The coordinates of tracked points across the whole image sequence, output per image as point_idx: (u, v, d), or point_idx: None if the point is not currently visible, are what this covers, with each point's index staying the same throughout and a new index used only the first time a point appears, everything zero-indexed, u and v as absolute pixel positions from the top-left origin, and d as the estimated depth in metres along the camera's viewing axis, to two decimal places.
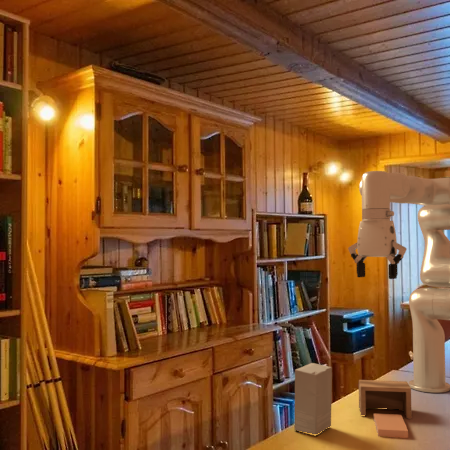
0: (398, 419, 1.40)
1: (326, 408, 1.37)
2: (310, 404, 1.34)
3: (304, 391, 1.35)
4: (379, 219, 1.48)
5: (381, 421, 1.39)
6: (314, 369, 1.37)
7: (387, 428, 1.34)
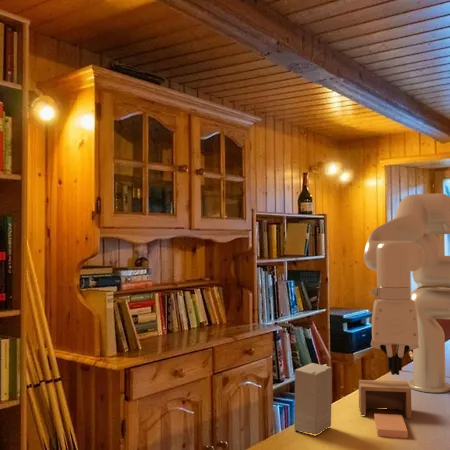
0: (399, 419, 1.40)
1: (326, 408, 1.37)
2: (310, 404, 1.34)
3: (304, 391, 1.35)
4: None
5: (381, 421, 1.39)
6: (314, 369, 1.37)
7: (386, 428, 1.34)
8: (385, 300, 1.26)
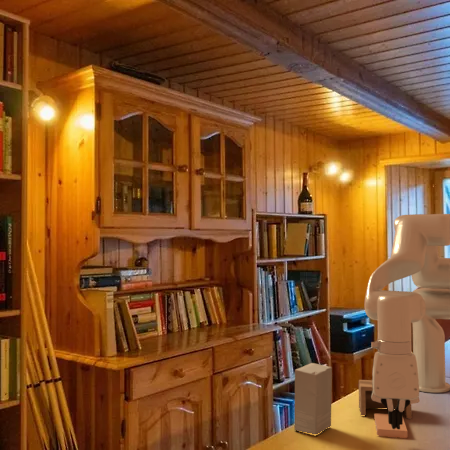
0: None
1: (326, 408, 1.37)
2: (310, 404, 1.34)
3: (304, 391, 1.35)
4: None
5: (381, 421, 1.39)
6: (314, 369, 1.37)
7: (386, 428, 1.34)
8: (386, 354, 1.25)
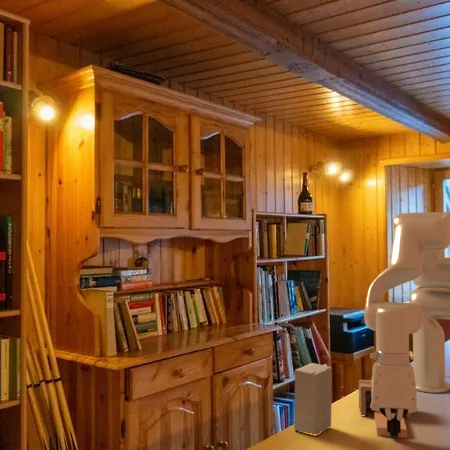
0: None
1: (326, 408, 1.37)
2: (310, 404, 1.34)
3: (304, 391, 1.35)
4: None
5: (381, 419, 1.39)
6: (314, 369, 1.37)
7: (386, 426, 1.34)
8: (384, 365, 1.29)
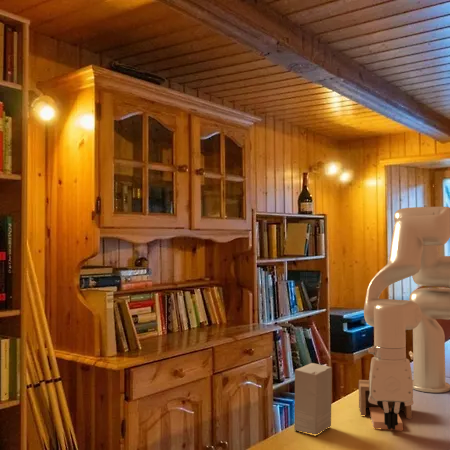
0: None
1: (326, 408, 1.37)
2: (310, 404, 1.34)
3: (304, 391, 1.35)
4: None
5: (377, 414, 1.44)
6: (314, 369, 1.37)
7: (382, 420, 1.39)
8: (382, 360, 1.34)
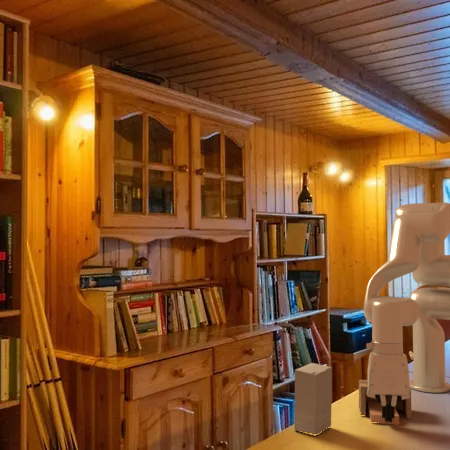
0: None
1: (326, 408, 1.37)
2: (310, 404, 1.34)
3: (304, 391, 1.35)
4: None
5: (374, 408, 1.48)
6: (314, 369, 1.37)
7: (379, 414, 1.43)
8: (379, 354, 1.38)
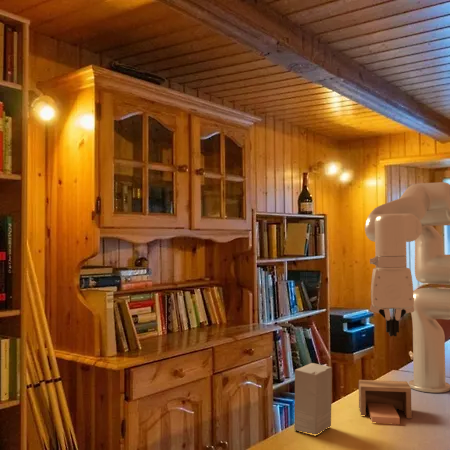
0: (390, 407, 1.50)
1: (326, 408, 1.37)
2: (310, 404, 1.34)
3: (304, 391, 1.35)
4: None
5: (374, 409, 1.48)
6: (314, 369, 1.37)
7: (380, 416, 1.43)
8: (383, 268, 1.37)
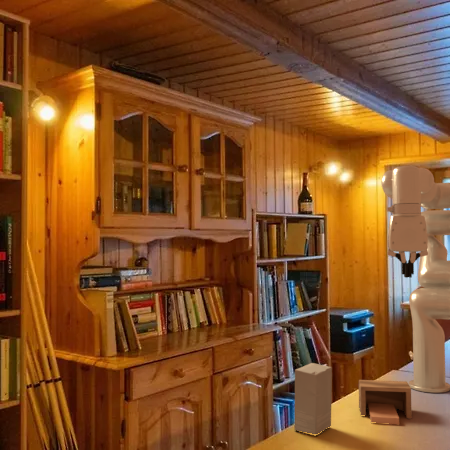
0: (391, 407, 1.50)
1: (326, 408, 1.37)
2: (310, 404, 1.34)
3: (304, 391, 1.35)
4: None
5: (374, 409, 1.48)
6: (314, 369, 1.37)
7: (379, 416, 1.43)
8: (400, 214, 1.50)
